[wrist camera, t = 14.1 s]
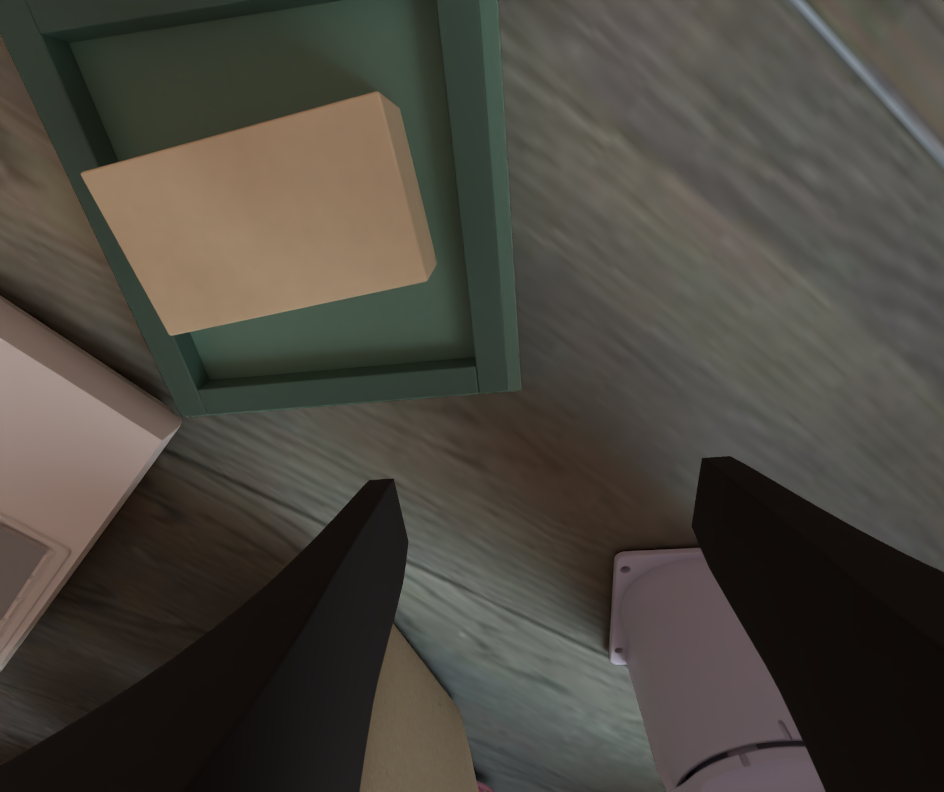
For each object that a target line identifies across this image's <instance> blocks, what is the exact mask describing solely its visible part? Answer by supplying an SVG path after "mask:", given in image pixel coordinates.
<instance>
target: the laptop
mask: <svg viewBox="0 0 944 792" xmlns="http://www.w3.org/2000/svg"><path fill="white" fill-rule="evenodd" d="M180 426H181V418H180V417H179V416H177V415H176V414H175V413H174V412H173V411H172V410H171V409H170V408H169V407H168V406H167V405H165V404H164V403H162V402H161V401H159V400H158V399H156V398H155V397H153V396H152V395H150V394H149V393H147V392H146V391H144V390H143V389H141V388H140V387H138V386H137V385H135V384H134V383H132V382H131V381H129V380H128V379H126V378H125V377H123V376H122V375H120V374H119V373H117V372H116V371H114V370H113V369H111V368H109V367H108V366H106V365H105V364H103V363H102V362H100V361H99V360H97V359H96V358H94V357H93V356H91V355H90V354H88V353H87V352H85V351H84V350H82V349H81V348H79V347H78V346H76V345H75V344H73V343H72V342H70V341H69V340H67V339H66V338H64V337H63V336H61V335H60V334H58V333H57V332H55V331H54V330H52V329H51V328H49V327H47V326H46V325H44V324H43V323H41V322H40V321H38V320H37V319H35V318H34V317H32V316H31V315H29V314H28V313H26V312H25V311H23V310H22V309H20V308H19V307H17V306H16V305H14V304H13V303H11V302H10V301H8V300H7V299H5V298H4V297H2V296H1V295H0V672H1V671H2V670H3V669H4V667H5V666H6V664H7V663H8V662H9V660H10V659H11V658H12V656H13V655H14V654H15V652H16V651H17V649H18V648H19V647H20V645H21V644H22V643H23V641H24V640H25V638H26V637H27V636H28V634H29V633H30V632H31V630H32V629H33V627H34V626H35V625H36V623H37V622H38V621H39V619H40V618H41V617H42V615H43V614H44V612H45V611H46V610H47V608H48V607H49V606H50V604H51V603H52V601H53V600H54V599H55V597H56V596H57V595H58V593H59V592H60V590H61V589H62V588H63V586H64V585H65V584H66V582H67V581H68V579H69V578H70V577H71V575H72V574H73V573H74V571H75V570H76V569H77V567H78V566H79V564H80V563H81V562H82V560H83V559H84V558H85V556H86V555H87V553H88V552H89V551H90V549H91V548H92V547H93V545H94V544H95V542H96V541H97V540H98V538H99V537H100V536H101V534H102V533H103V531H104V530H105V529H106V527H107V526H108V525H109V523H110V522H111V521H112V519H113V518H114V516H115V515H116V514H117V512H118V511H119V510H120V508H121V507H122V505H123V504H124V503H125V501H126V500H127V499H128V497H129V496H130V494H131V493H132V492H133V490H134V489H135V488H136V486H137V485H138V483H139V482H140V481H141V479H142V478H143V477H144V475H145V474H146V473H147V471H148V470H149V468H150V467H151V466H152V464H153V463H154V462H155V460H156V459H157V457H158V456H159V455H160V453H161V452H162V451H163V449H164V448H165V446H166V445H167V444H168V442H169V441H170V440H171V438H172V437H173V435H174V434H175V433H176V431H177V430H178V429H179V427H180Z"/></svg>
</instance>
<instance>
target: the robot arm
mask: <svg viewBox="0 0 944 792" xmlns="http://www.w3.org/2000/svg"><path fill="white" fill-rule="evenodd" d="M692 529H693V531H694V534H695V536H696V539H697V541H698V544H699V546H700V548H684V549H663V550H643V551H624V552H620V553H618V554H617V555H616V556H615V558H614V572H613V589H612V606H611V623H610V640H609V658H610V662H611V663H613V664H617V665H619V664H627V666H628V669H629V673H630V676H631V680H632V683H633V687H634V690H635V694H636V697H637V701H638V704H639V708H640V711H641V715H642V718H643V722H644V726H645V729H646V733H647V736H648V740H649V743H650V747H651V750H652V754H653V757H654V761H655V764H656V767H657V770H658V772H659V775H660V778H661V780H662V782H663V784H664V786H665V787H666V789H667V791H664V792H944V572H942V571H940V570H938V569H935V568H933V567H931V566H929V565H927V564H925V563H923V562H921V561H919V560H916V559H914V558H912V557H910V556H908V555H906V554H904V553H902V552H900V551H898V550H896V549H894V548H893V547H891V546H889V545H887V544H885V543H883V542H881V541H879V540H877V539H875V538H873V537H872V536H870V535H868V534H866V533H864V532H862V531H860V530H858V529H856V528H855V527H853V526H851V525H849V524H847V523H846V522H844V521H842V520H840V519H838V518H836V517H835V516H833V515H831V514H829V513H828V512H826V511H824V510H822V509H821V508H819V507H817V506H815V505H814V504H812V503H810V502H808V501H807V500H805V499H803V498H802V497H800V496H798V495H797V494H795V493H793V492H791V491H790V490H788V489H786V488H785V487H783V486H781V485H780V484H778V483H776V482H775V481H773V480H771V479H770V478H768V477H766V476H764V475H763V474H761V473H759V472H758V471H756V470H754V469H752V468H751V467H749V466H747V465H745V464H744V463H742V462H740V461H738V460H736V459H734V458H732V457H730V456H726V457H711V458H702V462H701V468H700V475H699V481H698V488H697V494H696V501H695V507H694V513H693V520H692ZM407 549H408V538H407V534H406V529H405V525H404V521H403V517H402V512H401V508H400V504H399V500H398V495H397V491H396V487H395V483H394V479H381V480H369V481H368V482H367V483H366V484H365V485H364V486H363V487H362V488H361V489H360V490H359V492H358V493H357V494H356V495H355V496H354V497H353V498H352V499H351V500H350V501H349V503H348V504H347V505H346V506H345V507H344V508H343V509H342V510H341V511H340V512H339V513H338V515H337V516H336V517H335V518H334V519H333V520H332V521H331V522H330V523H329V524H328V525H327V526H326V527H325V528H324V529H323V530H322V532H321V533H320V534H319V535H318V536H317V537H316V538H315V539H314V540H313V541H312V542H311V543H310V544H309V545H308V546H307V547H306V548H305V549H304V550H303V551H302V552H301V553H300V554H299V555H298V556H296V557H295V558H294V559H293V560H292V561H291V562H290V563H289V564H288V565H287V566H286V567H285V568H284V569H283V570H282V571H281V572H280V573H279V574H278V575H277V576H276V577H275V578H273V579H272V580H271V581H270V582H269V583H268V584H267V585H266V586H264V587H263V588H262V589H261V590H260V591H259V592H258V593H256V594H255V595H254V596H253V597H252V598H250V599H249V600H248V601H247V602H246V603H244V604H243V605H242V606H241V607H240V608H238V609H237V610H236V611H235V612H234V613H232V614H231V615H230V616H229V617H227V618H226V619H225V620H224V621H222V622H221V623H220V624H218V625H217V626H215V627H214V628H213V629H211V630H210V631H209V632H207V633H206V634H205V635H203V636H202V637H201V638H199V639H198V640H197V641H195V642H194V643H193V644H191V645H190V646H189V647H187V648H186V649H185V650H183V651H182V652H181V653H179V654H178V655H176V656H175V657H174V658H172V659H171V660H169V661H168V662H167V663H165V664H164V665H162V666H161V667H159V668H158V669H156V670H155V671H153V672H152V673H150V674H149V675H148V676H146V677H145V678H143V679H142V680H140V681H139V682H137V683H136V684H134V685H133V686H131V687H130V688H128V689H126V690H125V691H123V692H122V693H120V694H119V695H117V696H116V697H114V698H113V699H111V700H109V701H108V702H106V703H105V704H103V705H102V706H100V707H98V708H97V709H95V710H94V711H92V712H90V713H89V714H87V715H86V716H84V717H82V718H81V719H79V720H77V721H76V722H74V723H72V724H71V725H69V726H67V727H65V728H64V729H62V730H60V731H59V732H57V733H55V734H54V735H52V736H50V737H49V738H47V739H45V740H44V741H42V742H40V743H38V744H37V745H35V746H33V747H32V748H30V749H28V750H27V751H25V752H23V753H22V754H20V755H18V756H16V757H15V758H13V759H11V760H10V761H8V762H6V763H4V764H2V765H1V766H0V792H360V785H361V778H362V771H363V764H364V758H365V751H366V745H367V739H368V733H369V727H370V721H371V715H372V708H373V703H374V698H375V693H376V688H377V684H378V679H379V675H380V671H381V667H382V663H383V660H384V656H385V652H386V648H387V644H388V640H389V636H390V632H391V628H392V625H393V621H394V617H395V613H396V609H397V605H398V601H399V597H400V593H401V589H402V585H403V580H404V573H405V566H406V558H407ZM625 566H626V567H625Z"/></svg>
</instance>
